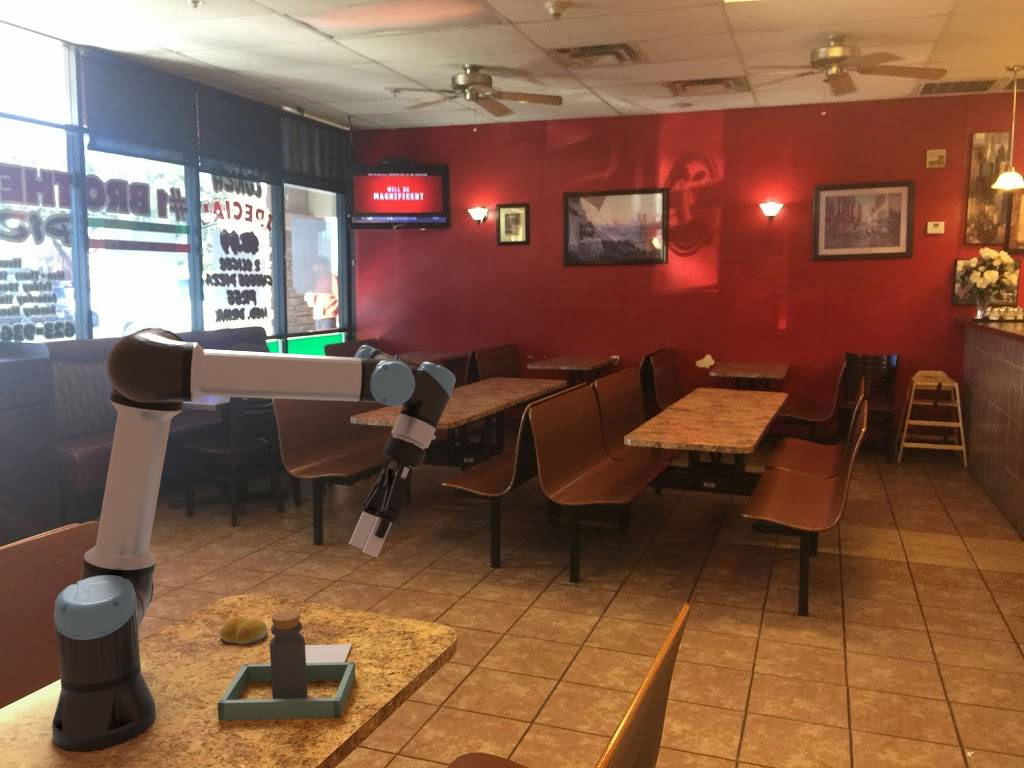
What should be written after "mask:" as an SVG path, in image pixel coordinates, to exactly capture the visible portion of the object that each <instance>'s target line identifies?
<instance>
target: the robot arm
mask: <svg viewBox="0 0 1024 768" xmlns="http://www.w3.org/2000/svg"><path fill="white" fill-rule="evenodd" d="M107 357H108V358H107V363H106V370H107V371H106V372H107V375H108V378H109V380H110V381H109V382H111V384H112V386H111V387H112V388H111V392H110V393H111V394H110V400H109V403H110V404H111V405H112V406H113V407H114V408H115V410H116V411H117V416H116V422H115V428H114V429H115V430H114V433H113V441H112V445H111V446H112V447H111V453H110V458H109V463H108V464H109V465H108V470H107V477H106V483H105V489H104V494H103V499H102V506H101V512H100V517H99V523H98V528H97V529H98V530H97V534H96V535H97V536H96V541H95V542H96V543H95V545H94V546H93V547H91V548H90V549H88V550H87V551H86V552H85V553H84V554H83V555H84V556H83V560H82V566H81V572H80V577H79V578H80V579H79V580H78V581H76V582H75V584H69V585H68V586H66V587H65V588H63V590H62V591H60V593H58V596H57V597H56V599H55V602H54V611H53V623H54V626H55V634H56V635H55V636H56V644H57V657H58V667H59V676H60V687H61V688H60V694H59V697H58V701H57V704H56V708H55V711H54V715H53V719H52V723H51V730H52V741H53V740H54V741H53V743H54V742H55V743H54V744H55V745H56V744H57V745H56V746H57V747H58V748H60V749H61V748H62V749H64V750H67V751H73V752H74V751H77V752H79V751H80V752H85V751H87V752H88V751H94V750H95V751H96V750H101V749H106V748H110V747H113V746H114V747H115V746H117V745H120V744H122V743H125V742H127V741H130V740H132V739H134V738H136V737H138V736H139V735H141V734H142V733H144V732H145V731H146V730H147V729H149V728H150V727H151V726H152V725H153V723H154V722H155V720H156V716H157V711H156V710H157V709H156V701H155V698H154V697H153V695H152V692H151V691H150V688H149V686H148V684H147V682H146V679H145V678H144V676H143V673H142V668H141V666H142V665H141V655H140V654H141V653H140V640H139V631H140V627H141V625H142V622H143V619H144V618H145V615H146V612H147V610H148V608H149V606H150V605H151V603H152V599H153V597H154V596H153V595H154V591H155V590H154V589H155V586H154V574H155V569H156V564H157V563H156V561H157V558H156V556H155V555H154V554H153V553H152V551H151V550H150V544H151V538H152V532H153V525H154V520H155V515H156V509H157V505H158V497H159V491H160V487H161V486H160V485H161V479H162V474H163V468H164V462H165V455H166V450H167V445H168V440H169V434H170V429H171V428H170V427H171V421H172V419H173V418H174V417H175V416H177V415H178V414H180V413H181V412H182V411H183V408H184V407H183V406H184V402H185V403H186V402H189V403H194V402H196V401H198V400H199V399H200V398H202V397H219V398H221V397H223V398H247V399H248V398H249V399H250V398H251V399H253V398H254V399H256V398H257V399H275V400H276V399H279V400H307V401H308V400H309V401H338V402H340V401H341V402H359V403H360V402H361V403H379V404H381V405H384V406H388V407H397V406H400V405H401V406H402V407H401V409H400V412H399V413H398V416H397V418H396V420H395V423H394V425H393V427H392V430H391V435H392V436H390V437H388V439H387V441H386V443H385V446H384V449H383V451H382V455H383V456H384V457H385V458H388V459H390V462H389V464H387V463H384V465H382V469H381V471H380V474H379V476H378V477H377V479H376V481H375V482H374V484H373V485H372V488H371V489H370V492H369V493H368V495H367V497H366V498H365V500H364V502H363V503H362V513H361V515H360V517H359V519H358V521H357V524H356V526H355V529H354V531H353V533H352V536H351V537H350V540H349V541H348V544H349V545H351V546H354V547H356V548H359V549H361V550H362V553H364V554H366V555H368V556H371V557H374V558H378V557H379V555H380V552H381V551H382V548H383V546H384V544H385V540H386V538H387V535H388V533H389V532H390V529H391V527H392V524H393V523H394V521H396V520H398V519H399V517H400V512H401V509H402V506H403V503H404V499H405V495H406V491H407V489H408V486H409V482H410V479H411V476H412V475H413V472H414V471H413V469H414V470H418V469H420V468H421V466H422V464H423V461H424V459H425V457H426V454H427V453H426V450H425V449H428V448H429V447H430V445H431V443H432V440H433V441H434V440H436V438H437V437H436V435H435V434H434V433H435V432H436V430H437V428H438V426H439V423H440V421H441V418H442V416H443V413H444V412H445V409H446V407H447V406H448V403H449V401H450V400H451V396H452V393H453V390H454V388H455V384H456V381H457V379H456V376H455V374H454V373H453V372H452V371H451V370H449V369H448V368H446V367H444V366H442V365H441V364H440V365H438V364H437V363H434V362H430V361H424V362H422V363H421V364H420V366H419V367H416V366H413V365H410V364H408V363H407V362H404V361H402V360H400V359H398V358H396V357H394V356H392V355H390V354H388V353H386V352H384V351H382V350H380V349H379V348H374V347H373V346H370V345H368V344H363V345H361V346H359V347H358V349H357V351H356V353H355V354H354V356H333V355H313V354H297V353H280V352H279V353H278V352H260V351H245V350H244V351H242V350H227V349H226V350H223V349H205V348H204V347H202V346H201V345H200V344H199V342H195V341H194V342H193V341H185V340H183V338H182V337H181V336H179V335H178V334H176V332H173V331H171V330H166V329H163V328H161V327H160V328H159V327H158V328H157V327H148V328H146V327H145V328H142V329H140V330H137V331H135V332H133V333H131V334H128V335H126V336H124V337H123V338H121V339H119V341H117V343H116V344H115V345H114V346H113V348H112V349H111V351H110V353H109V355H108V356H107ZM380 509H381V510H380Z"/></svg>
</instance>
